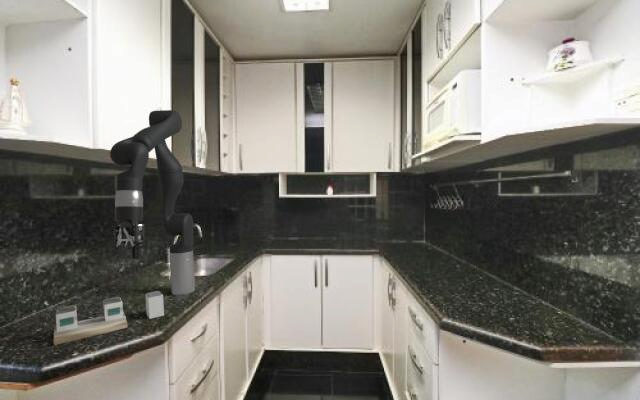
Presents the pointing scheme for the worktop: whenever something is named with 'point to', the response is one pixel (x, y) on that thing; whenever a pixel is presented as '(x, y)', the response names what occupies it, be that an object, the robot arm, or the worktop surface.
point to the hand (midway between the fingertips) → (128, 258)
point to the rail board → (88, 322)
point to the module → (154, 304)
